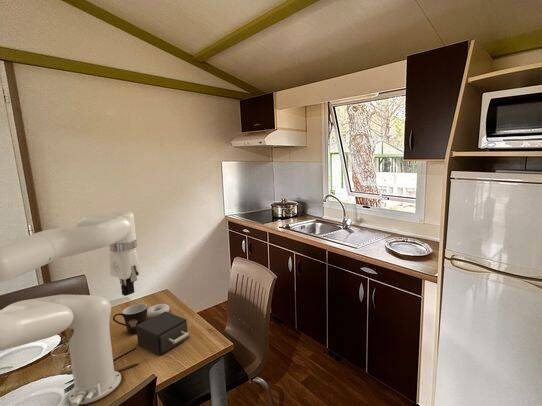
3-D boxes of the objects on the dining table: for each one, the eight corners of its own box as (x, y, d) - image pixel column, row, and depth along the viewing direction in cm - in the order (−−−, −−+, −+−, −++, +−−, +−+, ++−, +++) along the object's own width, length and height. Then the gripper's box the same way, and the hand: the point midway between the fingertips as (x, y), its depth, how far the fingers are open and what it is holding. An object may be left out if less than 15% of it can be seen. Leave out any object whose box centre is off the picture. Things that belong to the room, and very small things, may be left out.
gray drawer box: (187, 338, 114) (186, 319, 113) (159, 355, 104) (157, 335, 102) (167, 329, 120) (165, 311, 118) (138, 345, 109) (136, 325, 108)
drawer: (195, 340, 111) (194, 325, 110) (169, 356, 102) (168, 340, 101) (168, 329, 118) (167, 315, 117) (142, 343, 109) (141, 328, 108)
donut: (174, 312, 133) (163, 306, 138) (173, 306, 132) (162, 300, 137) (151, 322, 124) (140, 315, 130) (150, 315, 124) (140, 309, 129)
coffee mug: (154, 325, 123) (152, 304, 121) (138, 337, 114) (135, 315, 113) (130, 323, 124) (128, 302, 122) (112, 334, 115) (110, 312, 114)
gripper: (99, 245, 97) (104, 293, 99) (123, 252, 91) (128, 303, 93) (123, 240, 103) (128, 285, 106) (147, 246, 97) (151, 294, 100)
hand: (128, 293), depth 100 cm, fingers closed
